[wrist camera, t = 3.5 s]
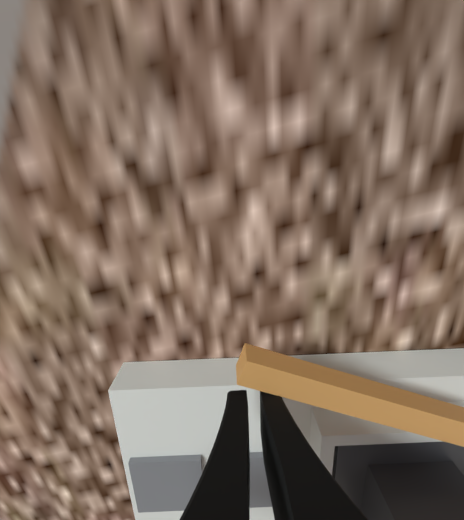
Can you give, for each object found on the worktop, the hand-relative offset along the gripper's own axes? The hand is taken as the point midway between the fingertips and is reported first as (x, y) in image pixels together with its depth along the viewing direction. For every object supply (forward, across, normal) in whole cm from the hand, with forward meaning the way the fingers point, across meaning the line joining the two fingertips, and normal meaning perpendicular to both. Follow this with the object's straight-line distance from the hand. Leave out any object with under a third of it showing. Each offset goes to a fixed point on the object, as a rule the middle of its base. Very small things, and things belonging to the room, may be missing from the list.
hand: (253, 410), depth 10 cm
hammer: (+2, -8, +1) cm, 8 cm away
